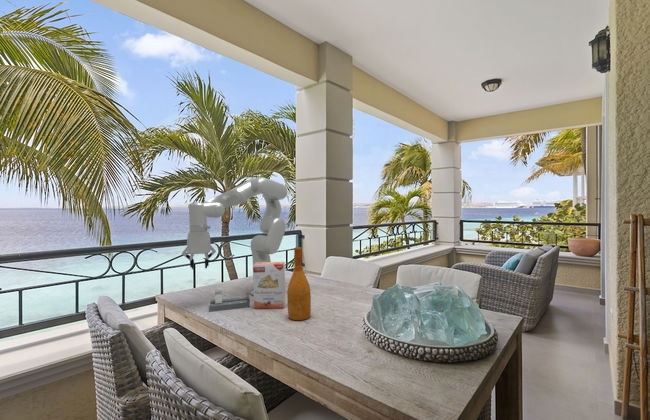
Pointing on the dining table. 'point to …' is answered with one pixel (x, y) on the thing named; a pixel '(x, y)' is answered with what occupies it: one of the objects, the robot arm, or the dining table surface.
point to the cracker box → (269, 284)
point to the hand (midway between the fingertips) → (199, 267)
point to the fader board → (230, 303)
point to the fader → (218, 297)
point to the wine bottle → (298, 291)
